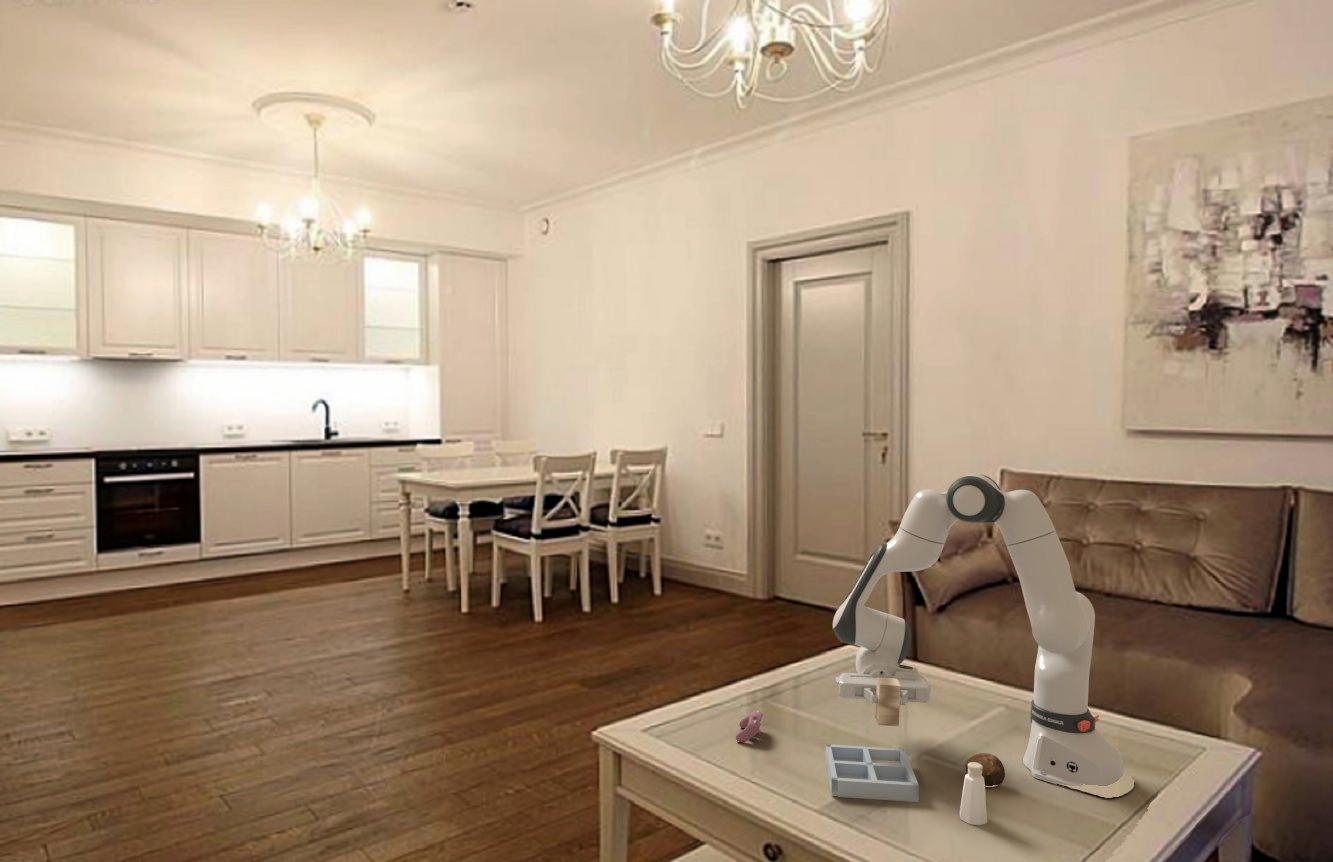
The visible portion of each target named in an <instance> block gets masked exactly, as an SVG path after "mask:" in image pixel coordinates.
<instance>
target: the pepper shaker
mask: <svg viewBox="0 0 1333 862" xmlns="http://www.w3.org/2000/svg"><path fill="white" fill-rule="evenodd" d="M982 769H983V766H982V765H981V764H979V763H976V762H970V763H968V774H967V773H966V774H965V776H964V780H963V787H962V792H961V794H962V795H961V799H960V800H961V801H960V807H959V818H960V820H961V821H963V822H965V823H966V824H968V825H974V826H982V825H984V824H985V825H986V824H987V823H988V815H987V814H988V813H987V801H986V800H987V799H986V798H987V796H986V787H985V782H984V777H983V776H982Z"/></svg>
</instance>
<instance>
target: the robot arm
mask: <svg viewBox="0 0 1333 862" xmlns="http://www.w3.org/2000/svg"><path fill="white" fill-rule="evenodd" d="M958 521H961V522H964V523H967V524H968V523H969V524H982V523H983V524H993V523H994V525H996V526H997V527H998V529H999V531H1000V533H1001V535H1002V538H1003V541H1004V543H1005V545H1006V548H1007V551H1008V553H1009V556H1010V558H1011V561H1012V563H1013V566H1014V569H1015V572H1016V574H1017V577H1018V580H1019V584H1020V587H1021V590H1022V595H1023V598H1024V603H1025V607H1026V611H1027V614H1028V618H1029V621H1030V626H1031V633H1032V636H1033V638H1034V640H1035V642H1036V643H1037V645H1038V648H1037V655H1036V661H1035V666H1034V678H1033V679H1034V684H1033V699H1032V700H1031V703H1030V723H1031V726H1030V731H1029V732H1030V734H1029V739H1028V742H1027V743H1028V744H1027V747H1026V751H1025V753H1024V756H1023V759H1022V762H1023V764H1024V765H1025V767H1026V768H1027V769H1029V770H1030V772H1031V776H1032V777H1033V778H1034V779H1036V780H1037V779H1038V780H1041V781H1045V782H1048V783H1051V784H1054V785H1057V784H1064V785H1070V786H1079V787H1082V786H1081V785H1083V784H1085V785H1098V786H1108V785H1110V784H1113V783H1115V782H1117V781H1118V780H1119V779H1120V778H1121V777H1122V776H1123V774H1124V773H1125V770H1124V769H1125V767H1124V762H1123V757H1122V754H1121V752H1119V751H1118V749H1117V748H1116V747H1115V746H1114V745H1112V744H1111V743H1110V742H1109V741H1108V739H1106V738H1105V736H1104V735H1102V734H1101V733H1100V732H1099V731H1098V729H1096V723H1097V722H1098V721H1099V720H1100V719H1099V717H1100V715H1095V716H1093V714H1092V713H1091V711H1090V710H1089V707H1088V703H1089V687H1090V685H1089V684H1090V683H1089V682H1090V681H1089V680H1090V671H1091V663H1092V662H1091V661H1092V654H1093V643H1094V635H1095V622H1096V613H1095V609H1094V606H1093V604H1092V602H1091V601H1090V600H1089V599H1088V598H1087V596H1086V595H1084V594H1083V593H1081V592H1078V591H1077V590H1076V587H1075V584H1074V580H1073V576H1072V572H1071V567H1070V562H1069V560H1068V558H1067V555H1066V553H1065V550H1064V548H1063V545H1062V543H1061V540H1060V538H1059V535H1058V532H1057V530H1056V528H1055V526H1054V524H1053V521H1052V519H1051V518H1050V515H1049V513H1048V512H1047V510H1046V508H1045V505H1043V503H1042V501H1041V500H1040V498H1039V497H1038V496H1037V494H1035V493H1034V492H1033V491H1031V490H1028V489H1027V490H1026V489H1015V490H1012V491H1011V490H1010V491H1003V490H1001V489H1000V485H998V483H997V482H996V481H995V480H993V479H992V478H991V477H989V476H987V475H984V474H978V473H968V474H964V475H963V476H960V477H959V478H957V479H956V480H954V481H953V482H952V483H951V485H950V486H949V487H948V489H947V490H946V491H940V490H936V489H931V488H930V489H929V488H928V489H926V488H925V489H922V490H919V491H918V492H917V493H916V494H914V496H913V498H912V499H911V501H910V503H909V505H908V506H907V508H906V510H905V513H904V515H903V517H902V519H901V521H900V525H899V527H898V529H897V532H896V533H895V534H894V536H893V537H892V538H890V539H889V540H888V542H885V543H881V544H878V546H877V547H876V548H875V549H874V551H872V554H871V555H870V556H869V557H868V560H867V561H866V563H865V565H864V566H863V568H862V570H861V571H860V573H859V575H858V576H857V578H856V580H855V582H854V584H853V586H851V589H850V591H849V592H848V594H847V596H846V597H845V599H844V600H843V601H842V603H841V605H840V606H839V607H838V608H837V610H836V612H835V614H834V616H833V620H832V626H831V628H832V630H833V633H834V634H835V637H837V639H838V640H839V641H840V643H844V644H849V645H852V646H854V645H855V646H858V647H859V648H858V650H857V652H856V655H855V668H856V669H855V670H856V672H843V673H840V675H839V676H836V677H835V679H834V680H835V683H836V684H837V685H838V696H840V697H842V698H843V699H857V700H868V701H870V703H871V704H876V703H878V694H877V693H876V686H877V678H893V679H897V680H898V682H899V684H900V706H906V703H907V702H909V703H910V702H912V703H913V702H914V703H929V702H930V701H931V694H932V693H931V692H932V688H931V686H930V684H929V682H928V680H927V679H926V678H925V677H924V676H923V675H922V674H919V668H917V667H915V666H910V665H905V664H902V663H903V662H904V661H905V660H906V658H907V656H908V653H909V651H910V648H911V644H912V633H911V629H910V627H909V624H908V623H907V621H906V619H905V618H902V617H899V616H897V615H893V614H890V613H887V612H883V611H880V610H877V609H875V608H872V607H868V606H866V605H865V604H866V602H867V601H868V599H869V597H870V595H871V593H872V592H873V590H874V588H875V586H876V585H877V582H878V581H879V580H880V579H881V578H882V577H883V576H885V575H888V574H891V573H900V572H902V573H903V572H904V573H905V572H908V573H909V572H919V571H922V570H926V569H928V568H930V567H932V566H934V565H935V564H936V563H937V561H938V560H939V558H940V557H941V554H942V551H943V549H944V546H945V544H946V541H947V539H948V535H949V534H950V533H949V532H950V530H951V528H952V527H953V525H954V524H955V523H956V522H958Z"/></svg>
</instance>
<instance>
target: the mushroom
mask: <svg viewBox="0 0 1333 862" xmlns="http://www.w3.org/2000/svg"><path fill="white" fill-rule="evenodd" d="M970 762H976V763H979V764H981V765H982V766H983V769H982V776H983V777H984V782H985V786H993V785H998V786H1000V785H1001V784H1002V783H1003V782H1004V780H1005V778H1006V772H1005V771H1006V770H1005V766H1004V764H1003V763H1002V761H1001V759H999V758H998V756H996V755H994V754H992V753H986V752H980V753H977V754H973V755H972V756H971V757H969V758H968V759H967V761H966V763H965V764H964V768H965V773H966V774H968V763H970ZM999 784H1000V785H999Z"/></svg>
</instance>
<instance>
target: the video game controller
mask: <svg viewBox="0 0 1333 862" xmlns="http://www.w3.org/2000/svg"><path fill="white" fill-rule="evenodd" d="M763 716H764V714H763V713H762V712H761V711H760V710H756V709H754V710H753V711H752V712H750V713H749V714H748V715H747V716H744V717H743V718H741V720H740V722H739V728H740V727H741V729H742V728H745V729H742V730H741V731H739V732H738V733H737V734H736V735H735V740H737V741H739V742H743V743H745V742H749V741H750V740H753V739H754V737H755V736H756V735H757V734H761V731H762V728H761V721H762V718H763ZM737 741H736V742H737Z"/></svg>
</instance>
